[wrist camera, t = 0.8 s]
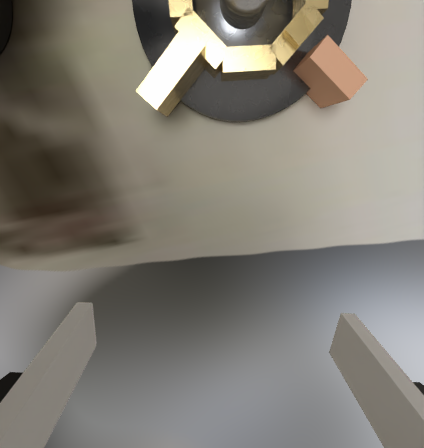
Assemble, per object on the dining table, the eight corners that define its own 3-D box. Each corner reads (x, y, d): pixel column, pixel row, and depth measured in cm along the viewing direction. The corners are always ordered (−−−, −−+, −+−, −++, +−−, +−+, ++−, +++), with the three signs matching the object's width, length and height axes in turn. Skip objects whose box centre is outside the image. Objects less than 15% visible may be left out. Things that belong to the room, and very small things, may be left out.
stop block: (288, 75, 31) (309, 57, 24) (301, 57, 31) (327, 34, 24) (320, 108, 32) (349, 99, 26) (334, 92, 32) (367, 79, 25)
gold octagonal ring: (241, -140, 23) (254, -252, 17) (342, -6, 27) (386, -54, 20) (107, 60, 28) (76, 36, 22) (206, 153, 32) (206, 156, 25)
